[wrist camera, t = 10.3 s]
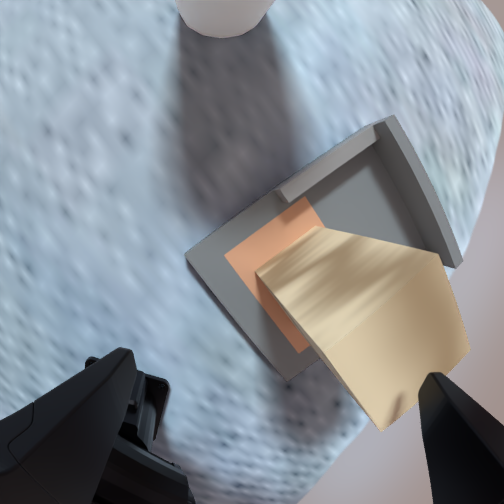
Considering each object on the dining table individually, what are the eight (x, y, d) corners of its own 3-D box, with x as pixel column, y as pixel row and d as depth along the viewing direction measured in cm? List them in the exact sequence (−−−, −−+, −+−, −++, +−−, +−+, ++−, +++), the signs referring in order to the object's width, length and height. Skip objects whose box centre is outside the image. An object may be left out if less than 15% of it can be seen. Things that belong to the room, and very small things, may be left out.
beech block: (295, 326, 22) (381, 432, 10) (254, 270, 21) (323, 353, 9) (350, 283, 22) (470, 349, 10) (315, 225, 21) (438, 253, 9)
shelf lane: (283, 375, 24) (298, 403, 20) (184, 252, 21) (181, 264, 17) (431, 252, 24) (463, 260, 20) (365, 125, 22) (394, 114, 18)
